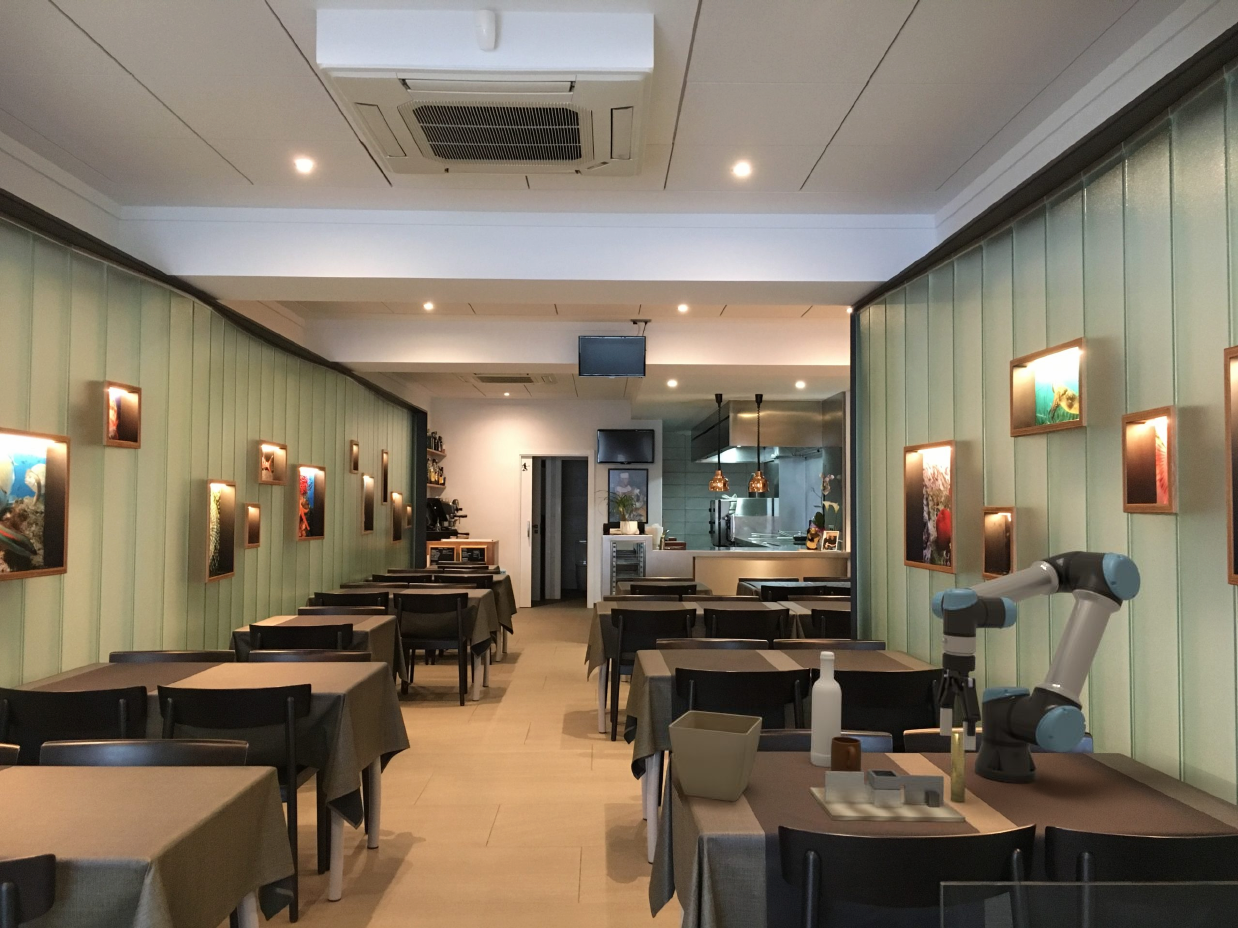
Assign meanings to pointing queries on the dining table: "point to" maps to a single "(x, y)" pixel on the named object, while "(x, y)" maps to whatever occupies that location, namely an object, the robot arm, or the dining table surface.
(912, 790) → the square frame with bar
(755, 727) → the flower pot
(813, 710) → the bottle
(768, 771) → the dining table surface
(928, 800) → the hinge base
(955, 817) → the board
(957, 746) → the pin
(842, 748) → the mug
